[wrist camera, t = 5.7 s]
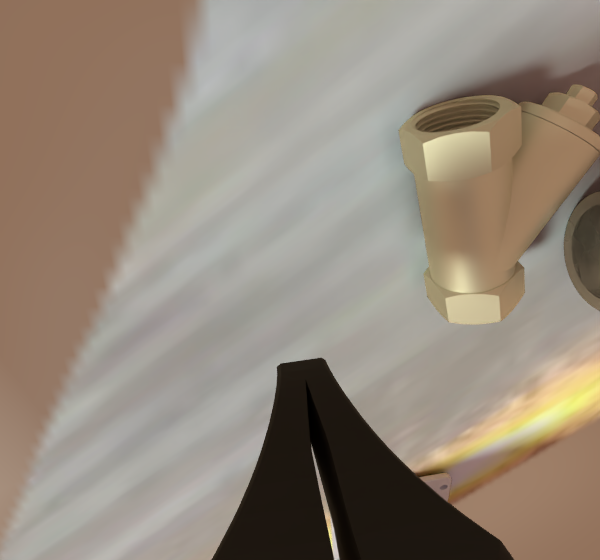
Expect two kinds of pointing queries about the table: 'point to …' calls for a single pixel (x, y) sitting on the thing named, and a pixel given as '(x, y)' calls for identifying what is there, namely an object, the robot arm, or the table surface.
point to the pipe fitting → (493, 190)
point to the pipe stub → (584, 249)
